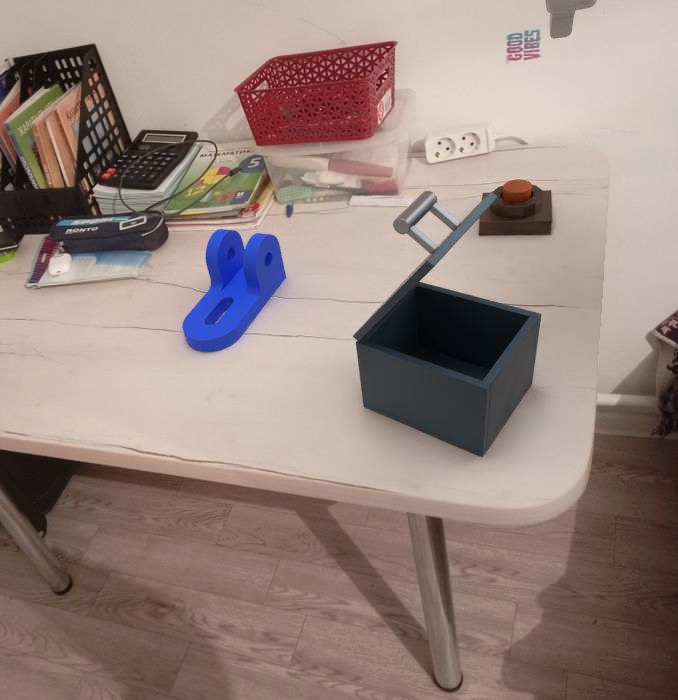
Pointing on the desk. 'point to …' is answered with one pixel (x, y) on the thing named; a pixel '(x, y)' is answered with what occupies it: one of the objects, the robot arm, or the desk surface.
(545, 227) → the control block
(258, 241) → the bracket
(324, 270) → the desk surface
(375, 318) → the box lid
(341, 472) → the desk surface
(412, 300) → the open box
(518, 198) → the button
